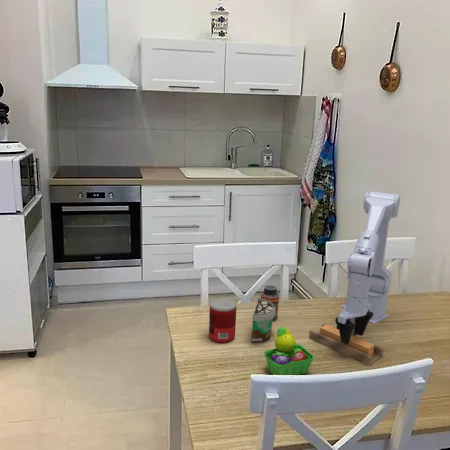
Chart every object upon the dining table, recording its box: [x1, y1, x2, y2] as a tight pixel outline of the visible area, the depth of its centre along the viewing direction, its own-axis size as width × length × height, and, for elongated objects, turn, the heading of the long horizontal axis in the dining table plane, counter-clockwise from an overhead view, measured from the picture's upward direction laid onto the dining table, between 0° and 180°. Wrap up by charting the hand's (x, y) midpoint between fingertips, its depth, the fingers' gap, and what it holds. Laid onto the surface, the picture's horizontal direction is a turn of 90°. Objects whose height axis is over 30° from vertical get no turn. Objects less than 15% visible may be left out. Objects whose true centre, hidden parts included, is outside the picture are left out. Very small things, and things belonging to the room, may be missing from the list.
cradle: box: [308, 322, 384, 367], centre depth 136 cm, size 20×8×3 cm, turn 44°
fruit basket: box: [263, 326, 315, 376], centre depth 122 cm, size 11×9×11 cm
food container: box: [251, 297, 276, 344], centre depth 140 cm, size 12×6×10 cm, turn 168°
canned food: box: [208, 298, 237, 344], centre depth 138 cm, size 8×8×11 cm
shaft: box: [319, 323, 375, 356], centre depth 135 cm, size 16×3×3 cm, turn 44°
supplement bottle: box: [260, 284, 280, 323], centre depth 151 cm, size 6×6×11 cm
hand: (352, 338), depth 134 cm, fingers open, 7 cm apart
